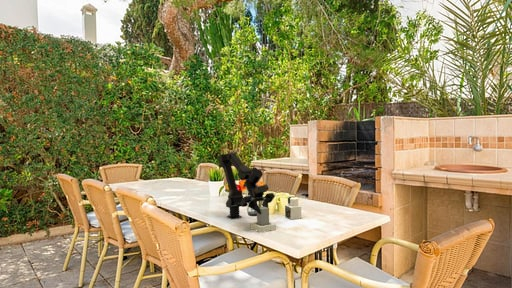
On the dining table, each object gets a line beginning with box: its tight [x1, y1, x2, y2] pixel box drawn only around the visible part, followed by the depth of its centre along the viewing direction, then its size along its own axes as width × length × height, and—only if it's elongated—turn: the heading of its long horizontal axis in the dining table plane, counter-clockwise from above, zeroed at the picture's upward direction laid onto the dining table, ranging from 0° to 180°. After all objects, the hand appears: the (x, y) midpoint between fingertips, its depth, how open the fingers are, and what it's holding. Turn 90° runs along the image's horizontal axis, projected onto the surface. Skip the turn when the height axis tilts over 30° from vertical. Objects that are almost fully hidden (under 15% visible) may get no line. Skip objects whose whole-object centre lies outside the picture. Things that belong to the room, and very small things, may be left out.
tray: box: [250, 221, 277, 233], centre depth 181 cm, size 9×9×3 cm
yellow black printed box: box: [284, 196, 302, 220], centre depth 203 cm, size 7×7×12 cm
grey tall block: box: [256, 206, 270, 226], centre depth 180 cm, size 4×4×9 cm
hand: (264, 213), depth 179 cm, fingers closed on grey tall block, 4 cm apart
